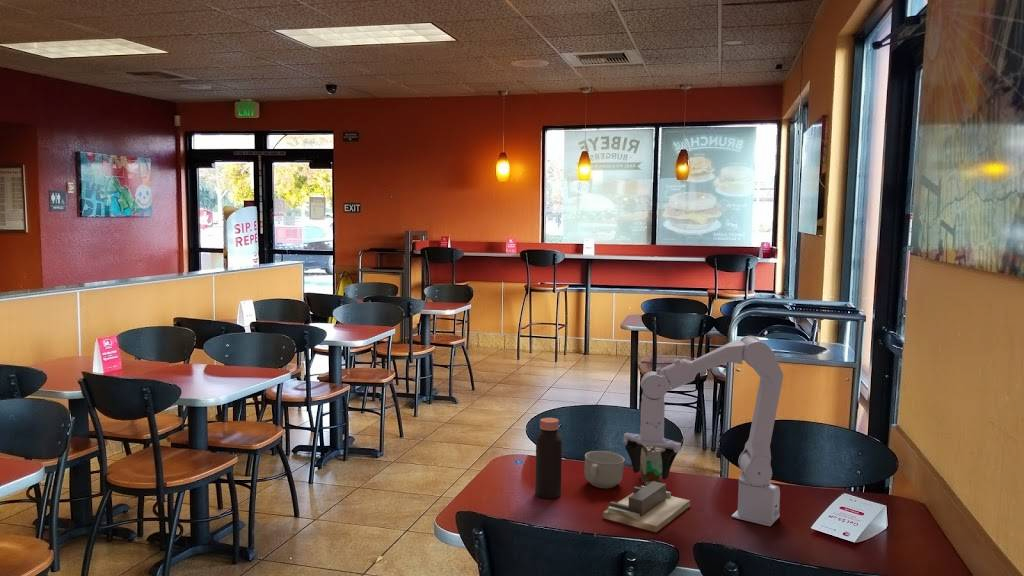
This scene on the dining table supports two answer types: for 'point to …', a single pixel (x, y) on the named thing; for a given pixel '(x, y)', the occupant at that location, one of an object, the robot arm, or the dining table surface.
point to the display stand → (649, 513)
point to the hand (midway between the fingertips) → (650, 475)
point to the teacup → (603, 468)
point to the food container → (651, 464)
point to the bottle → (548, 460)
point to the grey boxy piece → (644, 498)
